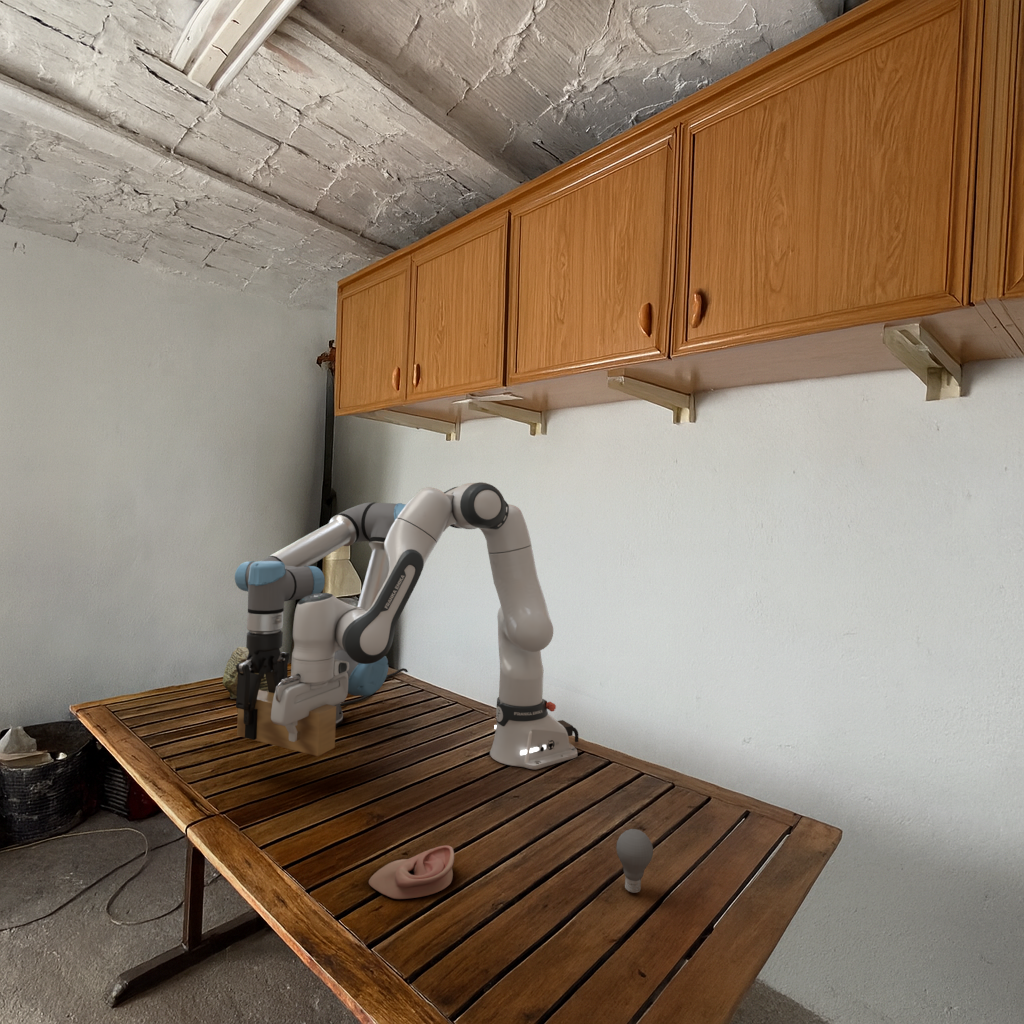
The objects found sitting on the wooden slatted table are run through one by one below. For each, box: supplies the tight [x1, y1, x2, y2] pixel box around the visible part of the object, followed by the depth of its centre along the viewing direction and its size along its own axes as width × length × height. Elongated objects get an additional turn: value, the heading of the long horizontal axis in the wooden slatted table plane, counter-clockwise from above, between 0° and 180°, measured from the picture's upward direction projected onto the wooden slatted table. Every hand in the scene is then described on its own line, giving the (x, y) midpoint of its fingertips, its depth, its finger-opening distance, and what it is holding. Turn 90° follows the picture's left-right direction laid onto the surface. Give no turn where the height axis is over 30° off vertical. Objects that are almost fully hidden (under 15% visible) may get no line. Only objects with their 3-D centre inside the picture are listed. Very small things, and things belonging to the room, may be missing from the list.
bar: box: [236, 690, 337, 757], centre depth 139 cm, size 23×5×9 cm, turn 66°
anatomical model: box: [368, 844, 455, 900], centre depth 106 cm, size 13×4×12 cm
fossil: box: [222, 646, 269, 699], centre depth 198 cm, size 9×18×15 cm, turn 132°
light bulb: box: [615, 828, 654, 894], centre depth 106 cm, size 6×6×10 cm
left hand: (261, 733), depth 142 cm, fingers closed on bar, 5 cm apart
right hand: (309, 733), depth 136 cm, fingers open, 8 cm apart
